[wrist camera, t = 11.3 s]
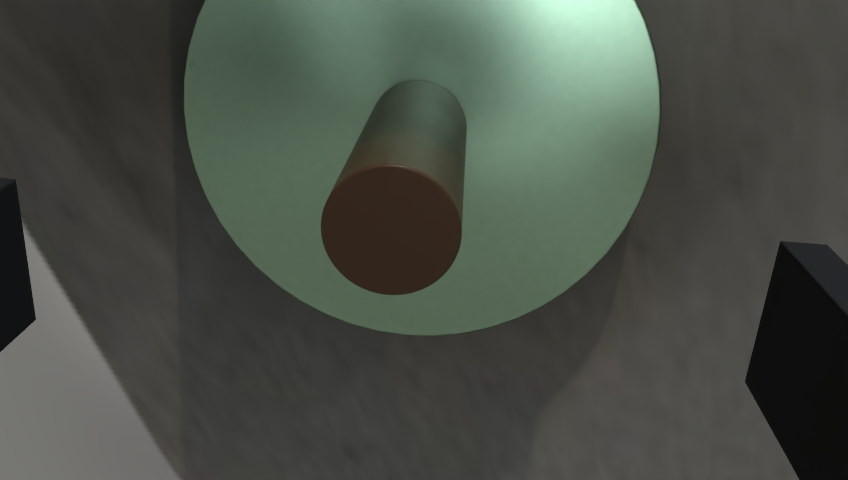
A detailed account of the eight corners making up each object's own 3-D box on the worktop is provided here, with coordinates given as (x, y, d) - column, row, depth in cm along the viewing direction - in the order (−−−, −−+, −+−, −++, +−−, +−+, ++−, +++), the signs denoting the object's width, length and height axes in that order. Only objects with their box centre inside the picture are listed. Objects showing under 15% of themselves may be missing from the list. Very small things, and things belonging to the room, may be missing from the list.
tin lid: (122, 172, 26) (-55, 306, 17) (345, -248, 21) (252, -353, 12) (477, 388, 28) (476, 600, 19) (753, 56, 23) (915, 145, 14)
